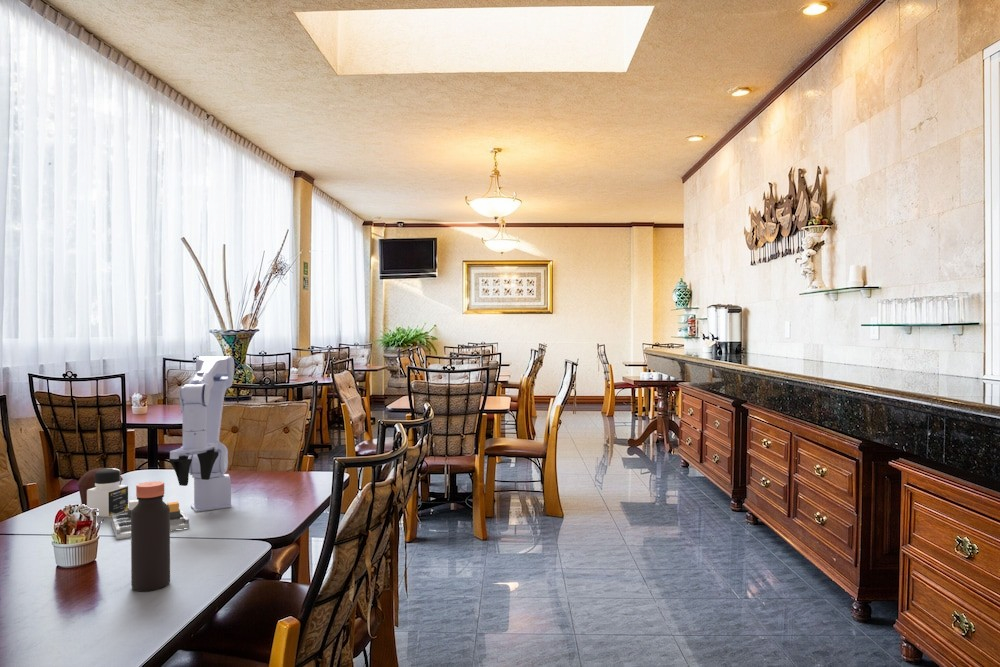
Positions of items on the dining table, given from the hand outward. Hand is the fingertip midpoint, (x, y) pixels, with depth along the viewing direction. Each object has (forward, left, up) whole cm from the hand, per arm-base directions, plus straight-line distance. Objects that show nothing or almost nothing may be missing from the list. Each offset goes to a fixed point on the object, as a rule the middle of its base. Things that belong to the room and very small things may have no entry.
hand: (194, 482), depth 177 cm
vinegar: (+15, +42, -11) cm, 46 cm away
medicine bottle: (+18, -23, -11) cm, 31 cm away
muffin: (+19, -36, -11) cm, 42 cm away
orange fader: (+5, 0, -9) cm, 10 cm away
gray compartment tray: (+10, -4, -10) cm, 15 cm away
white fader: (+13, -8, -9) cm, 18 cm away
